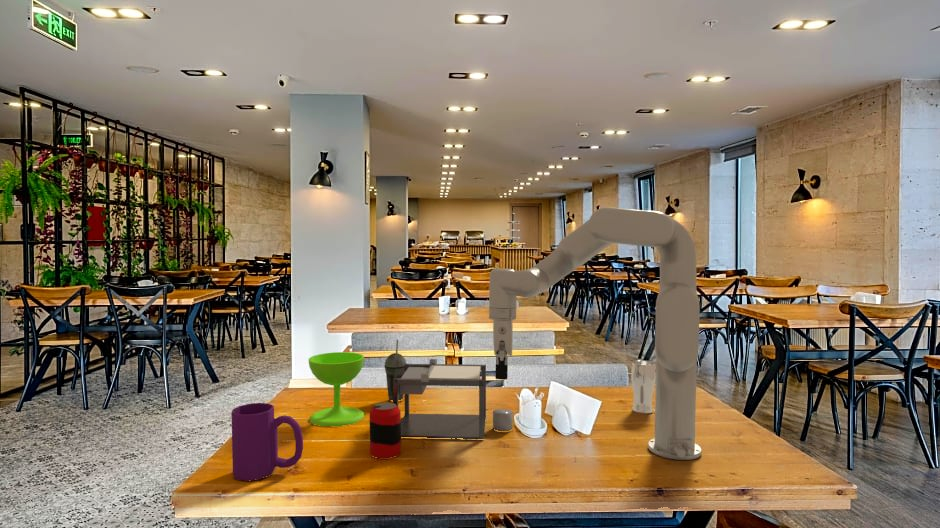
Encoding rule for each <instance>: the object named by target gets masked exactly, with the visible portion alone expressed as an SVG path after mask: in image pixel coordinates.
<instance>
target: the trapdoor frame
mask: <svg viewBox="0 0 940 528" xmlns="http://www.w3.org/2000/svg"><path fill="white" fill-rule="evenodd" d="M428 362H429V363H406V364H404V373H405V372H406V370H407V369H408V368H409V367H430V366H431V365H432V364H433V365H435V366H481V370H480V372H481V379H480V378H479V379H429V373H422V374H421V379H411V378H394V379H393V402H392V403H394V404H396V405H397V407H398V408H399V409H400V407H399V403H400V402H399V401H398V385H425V386H426V387H427V386H431V387H432V386H433V387H435V386H437V387H439V386H440V387H478V414H455V413H454V414H452V413H449V414H447V413H410V394H404V416H403V417H402V419H401V437H427V438H451V439H452V438H455V439H457V438H463V439H484V440H485V432H484V431H485V430H486V422H485V420H486V421H487V405H486V404H487V364H462V363H461V364H460V363H459V364H457V363H456V364H455V363H454V364H453V363H451V364H450V363H448V364H447V363H442V364H441V363H438V359H437V358H430V359H429V361H428Z"/></svg>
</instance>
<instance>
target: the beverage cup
mask: <svg viewBox="0 0 940 528" xmlns="http://www.w3.org/2000/svg"><path fill="white" fill-rule="evenodd" d="M398 350H399V339H396V348H395V353H391V354H389V355H388V356H387V357H386V359H385V362H384V365H383V366H384V371H385V377H386V386H387V396H388V401H389V400H393V379H394V378H401V377H402V376H403V375H404V364H407V361H406V358H405V357H404V356H403V355H402V354H401V353H398ZM401 399H403V400H404V394H400V385H398V400H401Z"/></svg>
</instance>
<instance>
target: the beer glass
mask: <svg viewBox="0 0 940 528" xmlns="http://www.w3.org/2000/svg"><path fill="white" fill-rule="evenodd" d="M630 376H631V377H630V379H631V387H632V393H633V394H632V395H633V404H632V411H633V412H634V413H637V414H647V415H648V414H652V413H653V412H654V408H653V401H652V400H653V394H654V389H655V385H656V362H653V361H651V360H643V359H641V360H640V359H639V360H633V361H632V363H631V375H630Z"/></svg>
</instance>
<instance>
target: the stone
mask: <svg viewBox="0 0 940 528" xmlns="http://www.w3.org/2000/svg"><path fill="white" fill-rule="evenodd" d="M513 416H514V414H513V410H511V409H507V408H497V409H494V410H492V429H493V428H494V429H495V430H498V431H509V430H511V429H512V428H513V427H514V425H513V422H514V419H513Z"/></svg>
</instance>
